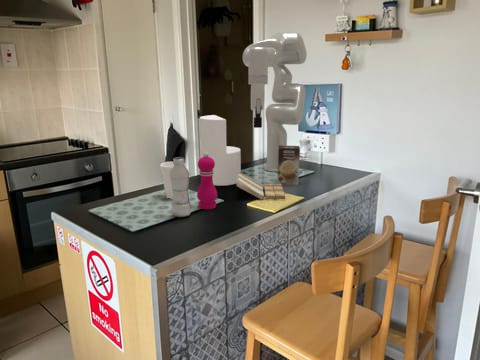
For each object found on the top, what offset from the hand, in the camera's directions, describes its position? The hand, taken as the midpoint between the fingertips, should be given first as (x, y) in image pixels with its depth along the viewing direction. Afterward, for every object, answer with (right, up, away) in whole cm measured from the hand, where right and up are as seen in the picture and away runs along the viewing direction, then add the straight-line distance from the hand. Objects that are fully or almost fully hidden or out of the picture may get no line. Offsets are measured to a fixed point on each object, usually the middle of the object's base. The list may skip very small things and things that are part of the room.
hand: (257, 127), depth 162 cm
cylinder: (-15, -22, +17) cm, 32 cm away
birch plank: (-4, -24, -3) cm, 24 cm away
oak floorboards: (+6, -27, -2) cm, 28 cm away
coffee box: (+13, -23, +12) cm, 29 cm away
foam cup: (-33, -28, -5) cm, 43 cm away
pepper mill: (-19, -31, -17) cm, 40 cm away
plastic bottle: (-27, -34, -25) cm, 50 cm away
